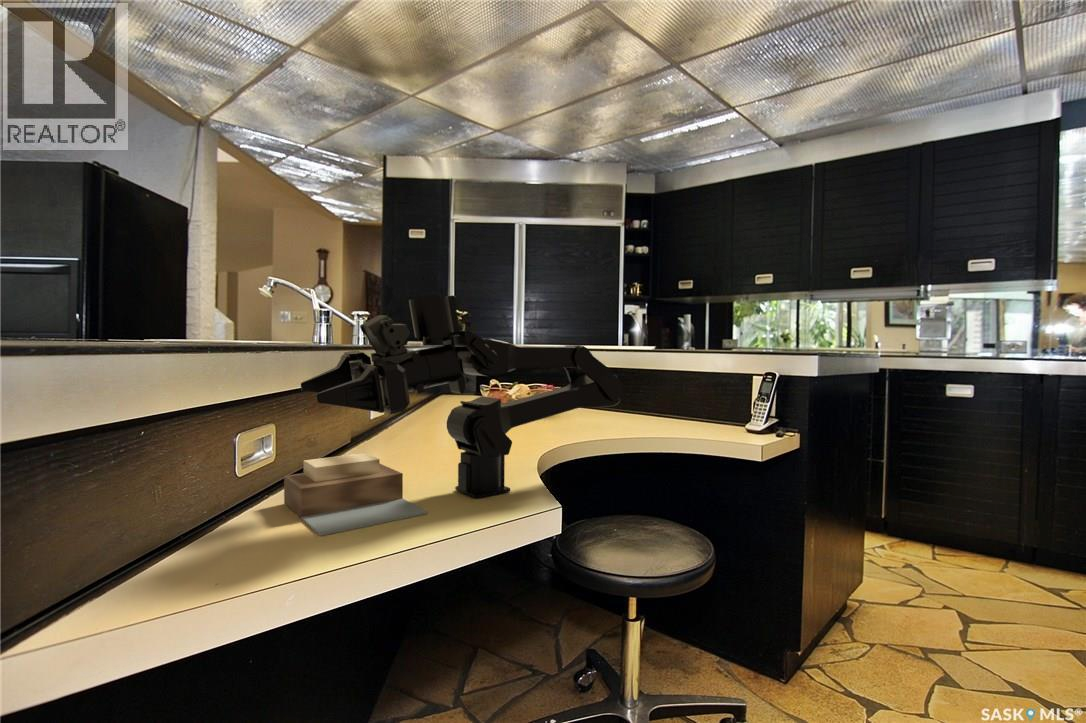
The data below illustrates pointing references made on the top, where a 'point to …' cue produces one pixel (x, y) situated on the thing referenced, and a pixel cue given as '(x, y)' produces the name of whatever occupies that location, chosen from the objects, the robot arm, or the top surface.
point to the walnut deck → (341, 491)
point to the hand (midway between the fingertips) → (308, 392)
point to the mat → (362, 516)
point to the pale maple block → (341, 467)
